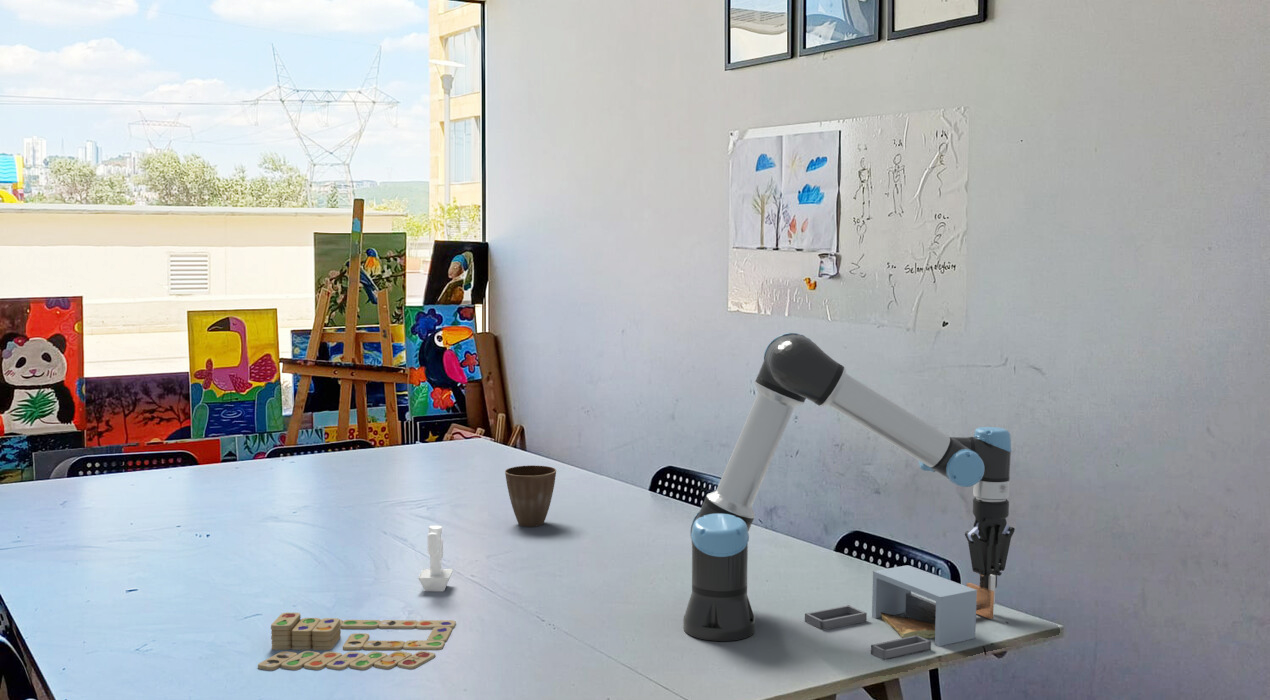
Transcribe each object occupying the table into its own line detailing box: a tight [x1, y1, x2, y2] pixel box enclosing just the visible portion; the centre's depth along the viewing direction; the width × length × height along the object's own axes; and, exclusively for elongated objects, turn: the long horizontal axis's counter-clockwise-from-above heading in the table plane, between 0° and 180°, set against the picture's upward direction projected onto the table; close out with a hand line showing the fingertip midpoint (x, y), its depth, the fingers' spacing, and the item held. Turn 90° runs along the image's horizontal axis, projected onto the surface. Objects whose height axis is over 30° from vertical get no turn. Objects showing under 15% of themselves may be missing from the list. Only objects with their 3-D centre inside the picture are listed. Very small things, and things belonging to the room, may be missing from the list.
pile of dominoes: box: [257, 611, 457, 671], centre depth 220 cm, size 35×27×6 cm
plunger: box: [904, 582, 994, 624], centre depth 235 cm, size 16×14×6 cm
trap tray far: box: [804, 604, 868, 631], centre depth 235 cm, size 12×6×2 cm, turn 118°
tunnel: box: [871, 565, 977, 647], centre depth 231 cm, size 10×20×10 cm, turn 28°
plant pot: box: [504, 464, 557, 528], centre depth 318 cm, size 15×15×16 cm
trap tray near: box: [870, 635, 932, 661], centre depth 217 cm, size 12×4×2 cm, turn 118°
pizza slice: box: [881, 612, 935, 639], centre depth 231 cm, size 13×9×2 cm
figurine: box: [417, 525, 454, 592], centre depth 256 cm, size 7×9×15 cm
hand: (987, 603), depth 240 cm, fingers closed
